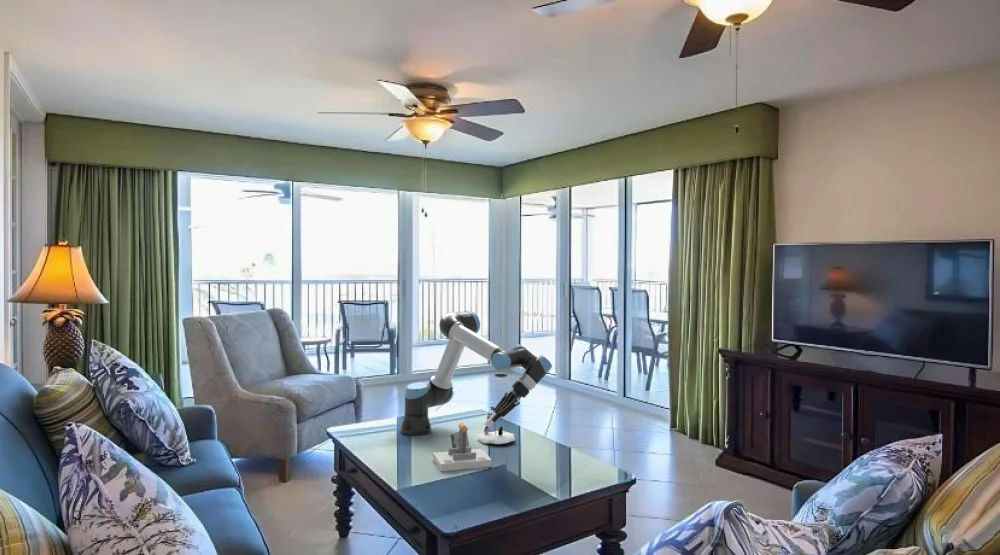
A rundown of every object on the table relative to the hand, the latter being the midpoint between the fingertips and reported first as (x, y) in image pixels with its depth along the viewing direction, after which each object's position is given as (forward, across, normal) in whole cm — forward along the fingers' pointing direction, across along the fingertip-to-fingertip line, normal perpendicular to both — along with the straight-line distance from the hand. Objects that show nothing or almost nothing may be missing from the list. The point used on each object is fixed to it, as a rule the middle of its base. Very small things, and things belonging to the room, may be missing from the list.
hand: (486, 425), depth 251 cm
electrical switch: (+16, +19, -7) cm, 26 cm away
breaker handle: (+15, +1, -1) cm, 15 cm away
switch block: (+18, +1, -4) cm, 19 cm away
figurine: (+1, +27, -22) cm, 35 cm away
